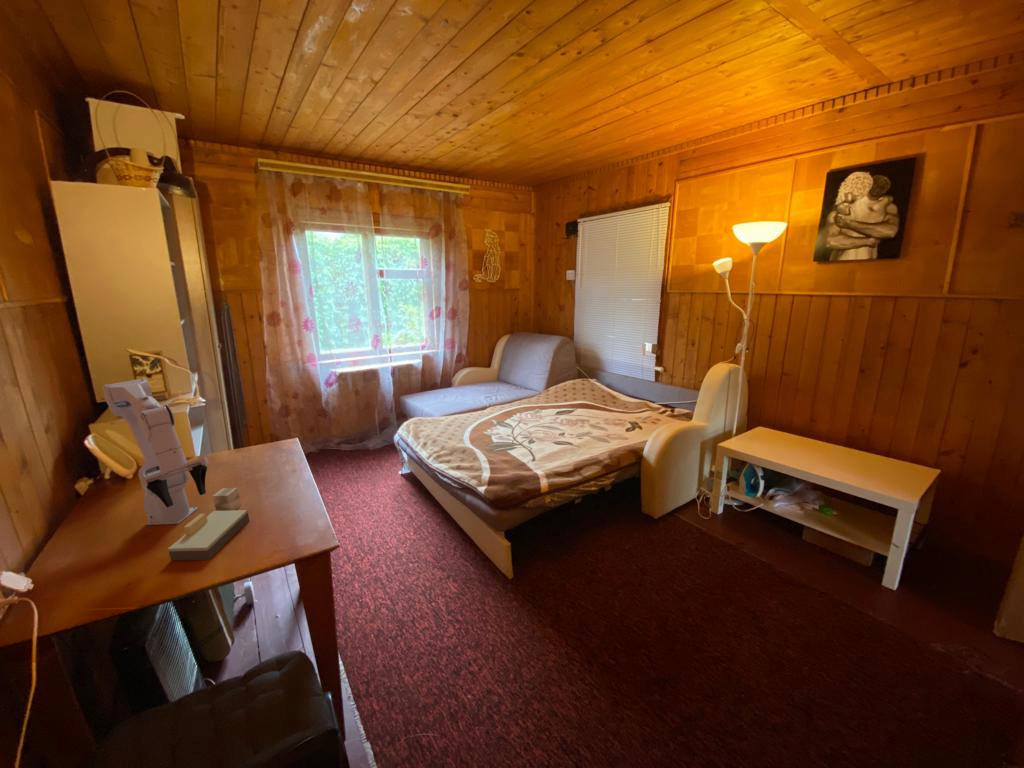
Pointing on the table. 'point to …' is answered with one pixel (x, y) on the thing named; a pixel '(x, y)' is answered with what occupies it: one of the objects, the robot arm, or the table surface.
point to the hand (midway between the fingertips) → (186, 500)
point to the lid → (207, 530)
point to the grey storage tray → (213, 549)
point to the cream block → (227, 499)
